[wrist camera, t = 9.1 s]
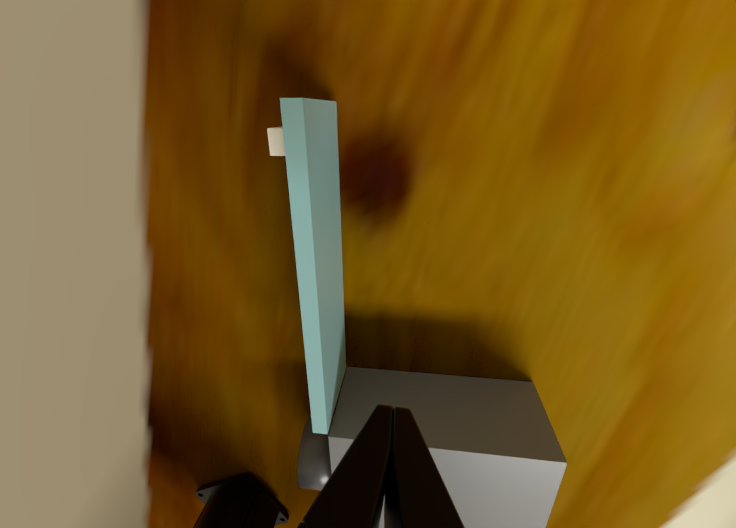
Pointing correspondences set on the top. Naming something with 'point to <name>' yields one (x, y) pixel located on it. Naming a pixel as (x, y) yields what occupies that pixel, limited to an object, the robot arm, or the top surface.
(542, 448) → the block
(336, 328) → the side door
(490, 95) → the top surface
